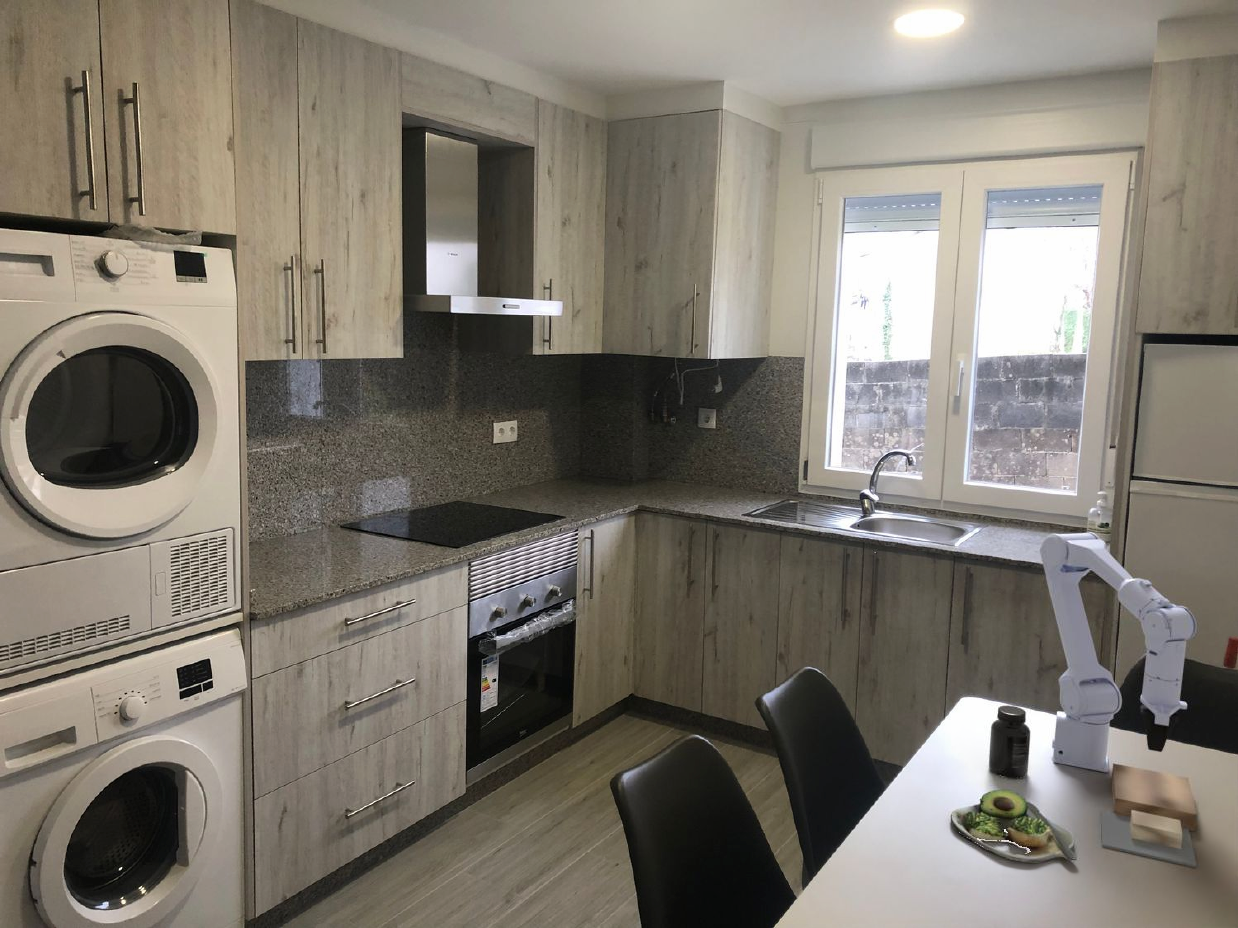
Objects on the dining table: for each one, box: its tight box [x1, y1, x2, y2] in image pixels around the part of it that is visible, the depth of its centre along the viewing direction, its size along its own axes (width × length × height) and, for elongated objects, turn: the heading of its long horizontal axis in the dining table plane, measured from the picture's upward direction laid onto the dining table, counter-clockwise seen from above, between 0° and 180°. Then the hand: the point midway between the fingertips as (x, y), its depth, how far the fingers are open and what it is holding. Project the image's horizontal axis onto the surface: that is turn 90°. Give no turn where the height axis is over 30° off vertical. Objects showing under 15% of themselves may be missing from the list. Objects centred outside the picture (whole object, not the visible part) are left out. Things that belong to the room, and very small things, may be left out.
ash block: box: [1130, 810, 1182, 849], centre depth 155 cm, size 7×5×2 cm
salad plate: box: [950, 789, 1078, 864], centre depth 155 cm, size 19×18×5 cm
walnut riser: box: [1111, 763, 1198, 832], centre depth 167 cm, size 12×15×3 cm
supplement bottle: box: [988, 705, 1031, 780], centre depth 178 cm, size 7×7×12 cm
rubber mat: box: [1100, 810, 1197, 868], centre depth 155 cm, size 13×12×1 cm
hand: (1154, 749), depth 168 cm, fingers closed
